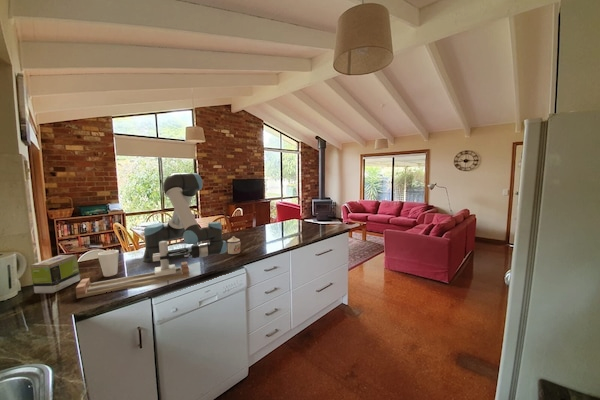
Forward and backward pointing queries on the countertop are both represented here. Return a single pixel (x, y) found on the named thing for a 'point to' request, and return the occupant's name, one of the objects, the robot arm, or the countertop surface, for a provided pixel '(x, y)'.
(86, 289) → the rail
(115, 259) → the foam cup
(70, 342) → the countertop surface
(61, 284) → the tea box
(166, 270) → the carriage
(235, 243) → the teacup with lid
